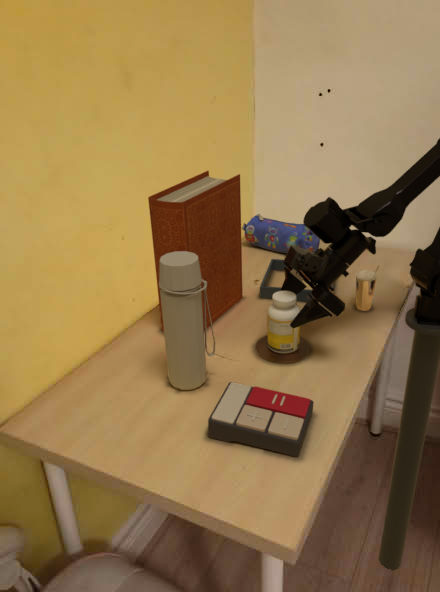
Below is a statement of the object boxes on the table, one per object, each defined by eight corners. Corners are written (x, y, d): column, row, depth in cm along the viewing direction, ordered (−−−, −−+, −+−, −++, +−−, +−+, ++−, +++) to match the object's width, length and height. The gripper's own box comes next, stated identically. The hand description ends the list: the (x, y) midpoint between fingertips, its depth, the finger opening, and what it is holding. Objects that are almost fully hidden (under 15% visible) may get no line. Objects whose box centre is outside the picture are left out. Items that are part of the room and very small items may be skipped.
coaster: (312, 337, 114) (312, 335, 113) (306, 366, 104) (306, 364, 104) (260, 332, 116) (260, 330, 116) (250, 360, 107) (250, 358, 107)
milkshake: (380, 309, 123) (385, 269, 118) (360, 313, 122) (364, 273, 117) (368, 300, 127) (372, 261, 122) (349, 305, 125) (352, 265, 121)
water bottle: (172, 396, 98) (159, 270, 86) (165, 372, 104) (153, 252, 92) (221, 388, 99) (216, 263, 87) (211, 364, 106) (205, 245, 94)
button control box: (300, 440, 81) (207, 416, 85) (298, 461, 83) (207, 437, 88) (314, 396, 90) (229, 377, 94) (312, 416, 92) (229, 396, 97)
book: (213, 290, 134) (207, 170, 120) (242, 297, 131) (240, 174, 116) (159, 333, 117) (144, 198, 103) (190, 342, 114) (179, 204, 99)
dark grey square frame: (336, 273, 141) (337, 262, 139) (332, 303, 126) (333, 292, 125) (271, 269, 145) (271, 258, 143) (259, 298, 130) (259, 286, 129)
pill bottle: (290, 335, 114) (291, 285, 108) (305, 350, 108) (307, 299, 103) (262, 342, 112) (262, 292, 106) (276, 358, 106) (276, 306, 101)
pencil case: (241, 247, 159) (240, 216, 155) (257, 238, 165) (257, 208, 160) (307, 263, 147) (308, 230, 143) (322, 253, 153) (324, 221, 148)
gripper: (293, 216, 107) (241, 274, 111) (333, 250, 91) (271, 317, 95) (328, 248, 113) (277, 302, 116) (371, 285, 97) (311, 347, 100)
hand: (283, 315), depth 106 cm, fingers open, 9 cm apart
